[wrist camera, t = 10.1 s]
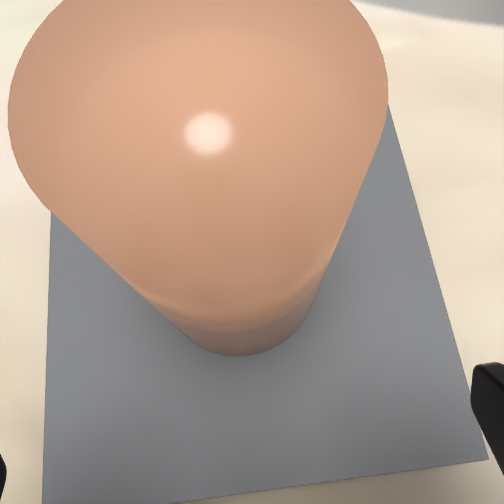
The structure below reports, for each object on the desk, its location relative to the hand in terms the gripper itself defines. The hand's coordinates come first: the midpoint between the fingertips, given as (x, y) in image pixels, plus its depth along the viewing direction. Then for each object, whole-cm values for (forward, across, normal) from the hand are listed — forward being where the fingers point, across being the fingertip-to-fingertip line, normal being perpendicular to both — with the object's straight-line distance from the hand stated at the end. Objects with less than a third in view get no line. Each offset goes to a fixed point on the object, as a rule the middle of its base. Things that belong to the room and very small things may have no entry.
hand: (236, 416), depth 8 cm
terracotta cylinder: (+9, 0, +2) cm, 9 cm away
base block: (+11, 0, +4) cm, 12 cm away
